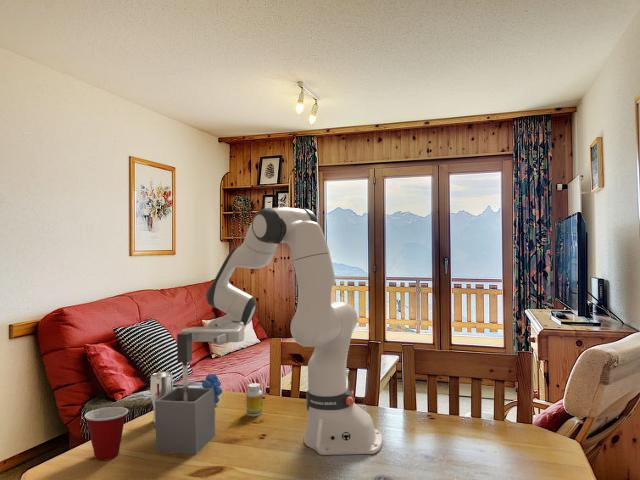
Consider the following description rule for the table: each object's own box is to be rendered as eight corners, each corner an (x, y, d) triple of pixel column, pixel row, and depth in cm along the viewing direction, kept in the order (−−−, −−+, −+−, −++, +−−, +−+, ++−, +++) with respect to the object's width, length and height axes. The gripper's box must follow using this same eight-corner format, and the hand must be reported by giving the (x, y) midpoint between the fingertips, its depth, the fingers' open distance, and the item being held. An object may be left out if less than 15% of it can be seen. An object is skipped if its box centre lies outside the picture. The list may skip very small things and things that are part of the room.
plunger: (207, 404, 130) (206, 330, 130) (193, 416, 121) (191, 337, 121) (179, 403, 131) (177, 329, 132) (162, 414, 122) (161, 336, 123)
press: (215, 435, 131) (214, 388, 131) (196, 454, 119) (195, 403, 119) (178, 433, 133) (177, 387, 133) (155, 451, 121) (154, 401, 121)
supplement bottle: (246, 411, 149) (245, 383, 149) (262, 409, 150) (261, 381, 150) (247, 417, 144) (246, 388, 144) (263, 415, 145) (262, 386, 145)
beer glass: (159, 426, 138) (158, 379, 138) (146, 421, 142) (145, 375, 142) (178, 419, 143) (177, 373, 144) (165, 414, 148) (164, 370, 148)
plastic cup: (138, 449, 123) (137, 406, 123) (107, 468, 113) (106, 421, 113) (108, 444, 126) (107, 402, 127) (75, 461, 116) (74, 416, 116)
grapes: (214, 414, 147) (214, 378, 147) (196, 413, 148) (196, 377, 148) (230, 402, 158) (229, 369, 158) (213, 401, 160) (212, 368, 160)
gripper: (192, 321, 152) (170, 329, 139) (247, 322, 148) (231, 330, 134) (192, 339, 152) (171, 349, 138) (248, 340, 148) (232, 350, 134)
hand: (201, 339), depth 136 cm, fingers open, 8 cm apart
